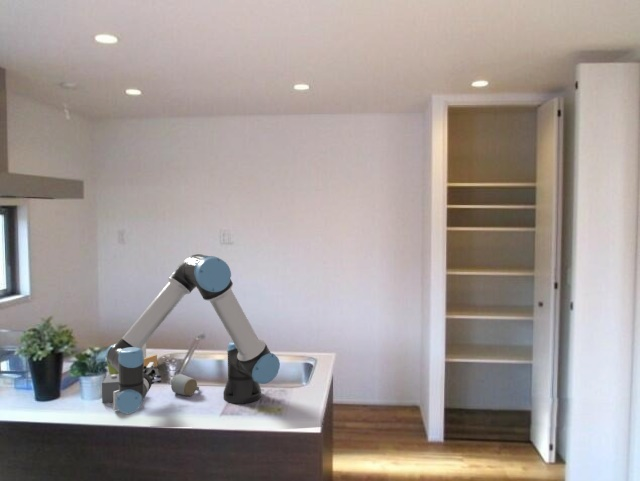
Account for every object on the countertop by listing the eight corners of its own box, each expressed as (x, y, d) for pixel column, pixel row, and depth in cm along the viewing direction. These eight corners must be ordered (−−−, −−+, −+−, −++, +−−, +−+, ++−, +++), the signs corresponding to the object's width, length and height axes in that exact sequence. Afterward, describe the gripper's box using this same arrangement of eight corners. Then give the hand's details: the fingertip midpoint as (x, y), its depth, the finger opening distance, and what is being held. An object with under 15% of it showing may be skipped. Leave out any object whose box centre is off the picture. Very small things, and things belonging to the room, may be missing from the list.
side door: (155, 393, 205) (155, 354, 204) (159, 394, 204) (158, 355, 203) (113, 410, 188) (112, 368, 187) (116, 411, 187) (116, 368, 186)
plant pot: (114, 381, 221) (114, 361, 220) (101, 377, 225) (100, 358, 225) (132, 375, 229) (132, 356, 228) (118, 371, 234) (118, 353, 233)
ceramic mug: (185, 399, 201) (185, 380, 200) (170, 395, 205) (170, 376, 204) (204, 391, 210) (204, 373, 209) (189, 387, 214) (189, 369, 213)
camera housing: (143, 391, 208) (143, 371, 207) (138, 401, 198) (138, 379, 197) (108, 393, 206) (108, 372, 205) (102, 402, 196) (101, 380, 195)
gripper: (118, 398, 172) (134, 375, 195) (157, 396, 174) (169, 374, 197) (118, 376, 172) (134, 356, 195) (157, 375, 173) (168, 355, 197)
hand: (151, 365), depth 196 cm, fingers closed
